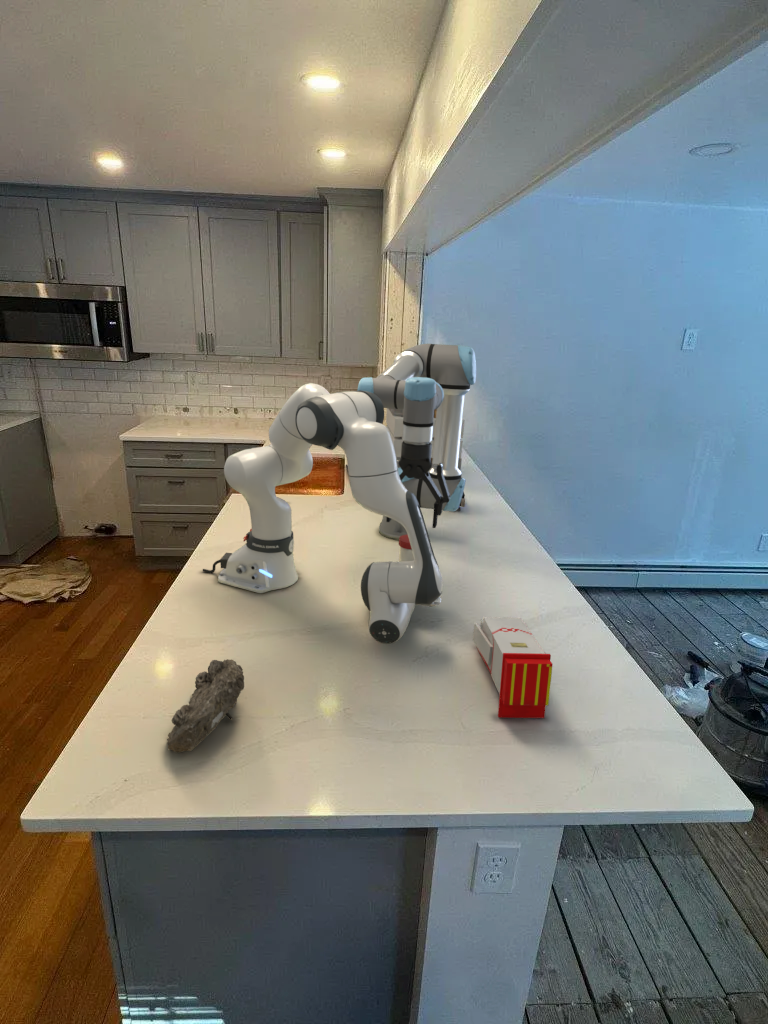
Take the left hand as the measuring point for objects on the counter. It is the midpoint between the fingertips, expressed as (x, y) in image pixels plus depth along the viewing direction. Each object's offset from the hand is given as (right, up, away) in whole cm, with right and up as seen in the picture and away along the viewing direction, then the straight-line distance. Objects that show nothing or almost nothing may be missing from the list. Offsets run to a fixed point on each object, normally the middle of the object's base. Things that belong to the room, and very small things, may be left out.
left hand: (408, 576), depth 154 cm
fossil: (-39, -22, -46) cm, 64 cm away
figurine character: (+22, +20, +76) cm, 81 cm away
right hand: (+1, +15, -6) cm, 16 cm away
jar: (0, -6, +1) cm, 6 cm away
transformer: (+11, +36, +121) cm, 127 cm away
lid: (0, +10, -4) cm, 11 cm away
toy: (+20, -18, -30) cm, 41 cm away
